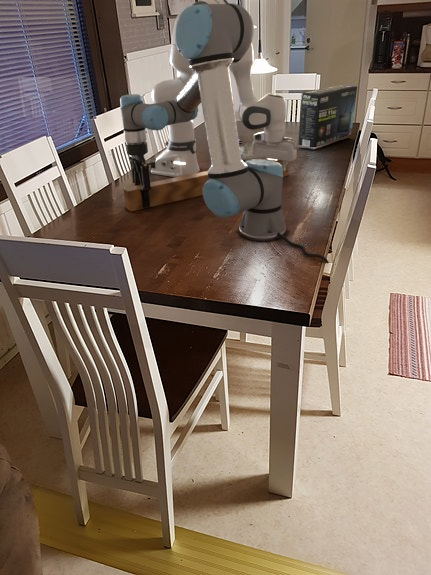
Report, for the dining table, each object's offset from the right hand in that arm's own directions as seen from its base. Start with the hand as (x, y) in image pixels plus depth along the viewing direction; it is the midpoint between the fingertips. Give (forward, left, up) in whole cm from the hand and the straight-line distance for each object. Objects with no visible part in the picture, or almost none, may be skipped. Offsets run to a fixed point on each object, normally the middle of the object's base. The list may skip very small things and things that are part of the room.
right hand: (143, 204), depth 174 cm
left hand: (-30, -52, +3) cm, 60 cm away
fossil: (-6, -74, -1) cm, 74 cm away
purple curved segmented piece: (+18, -103, -1) cm, 104 cm away
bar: (-15, -26, -1) cm, 30 cm away
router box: (-32, -116, -1) cm, 120 cm away
